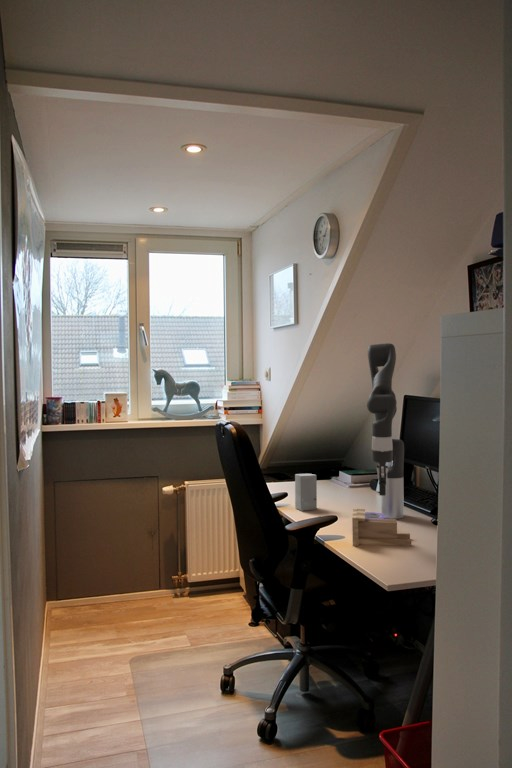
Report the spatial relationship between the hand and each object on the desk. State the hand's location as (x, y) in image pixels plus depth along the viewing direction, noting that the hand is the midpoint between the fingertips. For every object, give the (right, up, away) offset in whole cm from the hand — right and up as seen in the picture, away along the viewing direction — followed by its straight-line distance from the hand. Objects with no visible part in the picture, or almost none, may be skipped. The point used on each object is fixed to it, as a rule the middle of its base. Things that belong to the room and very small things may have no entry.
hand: (382, 495), depth 234 cm
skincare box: (-24, -16, +53) cm, 60 cm away
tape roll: (0, -17, +20) cm, 26 cm away
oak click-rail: (0, -17, +1) cm, 17 cm away
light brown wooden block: (-2, -18, +1) cm, 18 cm away
